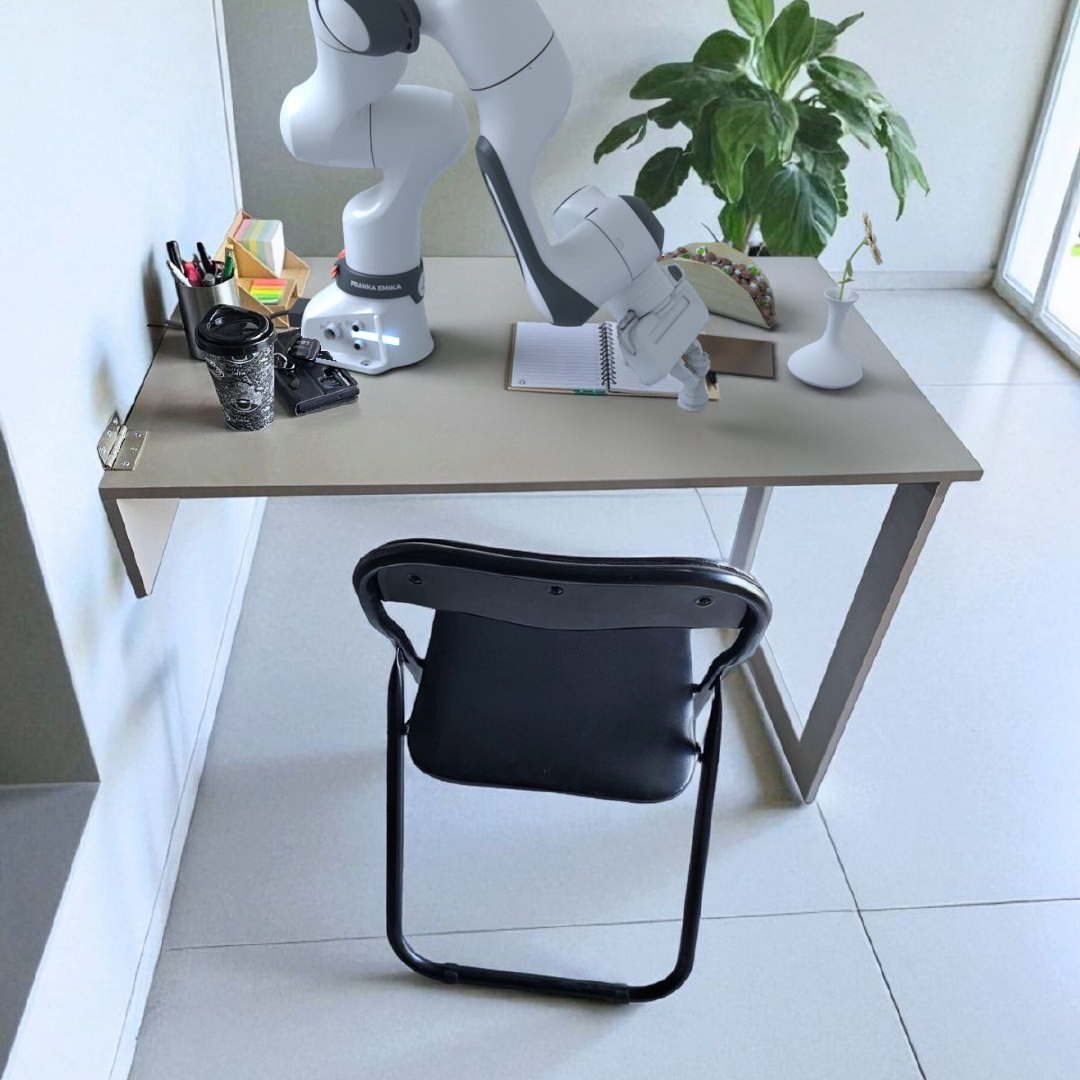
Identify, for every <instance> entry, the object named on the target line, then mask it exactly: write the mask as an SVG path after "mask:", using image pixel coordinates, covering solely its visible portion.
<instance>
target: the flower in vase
mask: <svg viewBox="0 0 1080 1080" xmlns="http://www.w3.org/2000/svg"><path fill="white" fill-rule="evenodd" d="M861 220H862V225H863V229H864V234H865V236H864V237H863V239H862V241H861V242H860V243H859V244H858V246H857V247H856V248H855V249H854V251H853V252H852V254H851V255H850V256H849V259H846V262H845V268H844V272H843V276H842V280H840V281H837V282H836V284H841V286H840V287H839V286H835V287H834V286H833V287H829V288H826V289H825V290H824V291H823V292H824V293H823V294H824V297H825V298H826V300H827V306H828V315H827V324H826V327H825V331H824V333H823V335H822V337H820V338H819V339H818V340H816V341H814V342H811V343H809V344H806V345H804V346H802V347H800V348H799V349H797V350H795V351H794V352H793V353H791V355H790V357H788V360H787V363H786V364H787V367H788V370H789V372H790V373H791V374H792V376H793V377H795V378H796V379H797V380H799V381H801V382H803V383H804V384H807V385H809V386H813V387H817V388H821V389H822V388H823V389H832V390H833V389H835V390H836V389H844V388H849V387H851V386H854V385H855V384H857V383H858V382H859V381H860V380H861V379H862V378H863V375H864V372H863V366H862V364H861V362H860V361H859V359H858V358H857V356H855V355H854V354H853V353H852V352H851V351H850V350H849V348H847V347H846V346H845V345H844V343H843V341H842V339H841V336H842V335H841V334H842V328H843V325H844V322H845V320H846V319H845V318H846V316H847V313H848V312H849V310H850V309H851V307H852V306H853V304H854V303H856V302H857V301H858V300H859V298H860V294H859V293H857V291H854V290H853V289H850V288H848V287H845V284H847V283H850V282H855V281H856V279H852V277H853V275H854V272H853V271H854V270H853V267H852V260H853V258H854V256H855V255H856V254H857V252H858V251H859V250H860V249H861V248H862V247H863V245H865V246H867V247H869V250H870V252H871V255H872V258H873V260H874V262H875V264H876V266H881V265H882V264H883V263H884V262H883V259H882V253H881V250H880V249H879V247H878V245H877V244H876V243H877V241H878V240H877V239H878V238H877V236H876V234H874V233H873V225H872V221H871V219H870V217H869V212H868V211H866V212H863V213H862V214H861ZM847 275H848V277H847V278H846V276H847Z"/></svg>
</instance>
